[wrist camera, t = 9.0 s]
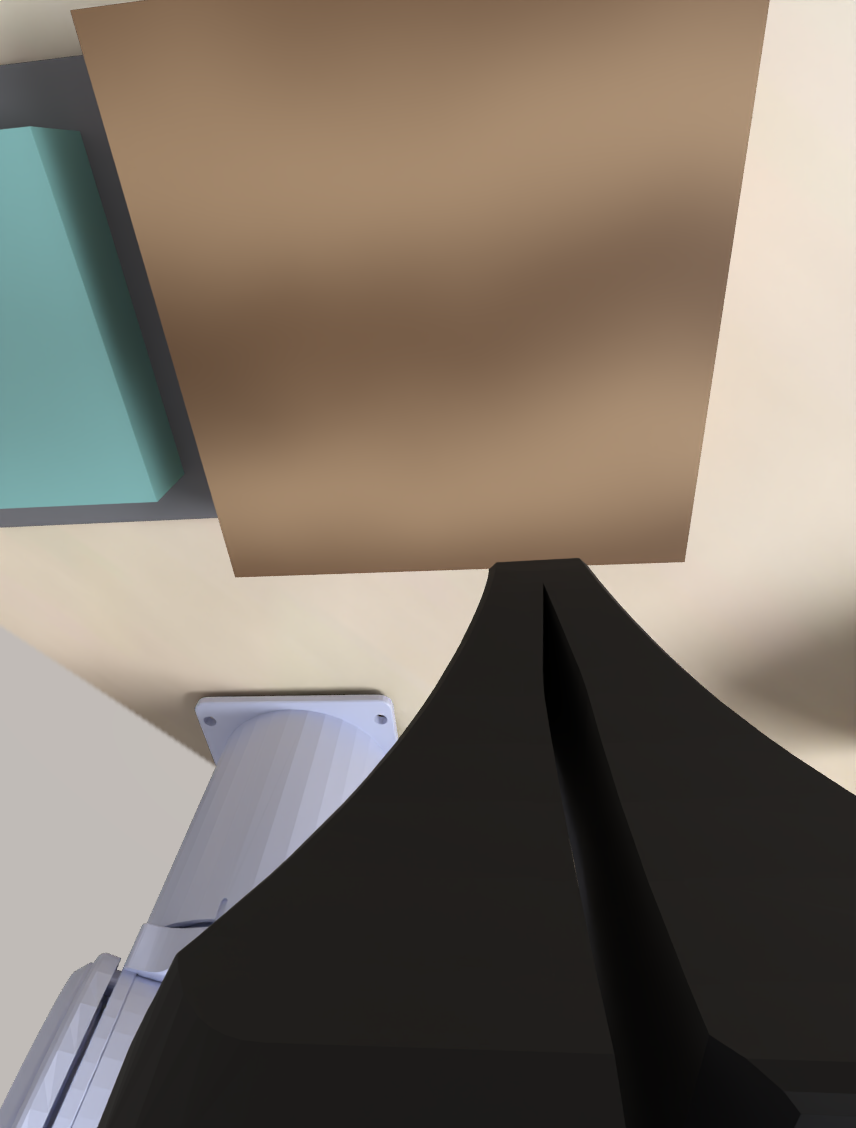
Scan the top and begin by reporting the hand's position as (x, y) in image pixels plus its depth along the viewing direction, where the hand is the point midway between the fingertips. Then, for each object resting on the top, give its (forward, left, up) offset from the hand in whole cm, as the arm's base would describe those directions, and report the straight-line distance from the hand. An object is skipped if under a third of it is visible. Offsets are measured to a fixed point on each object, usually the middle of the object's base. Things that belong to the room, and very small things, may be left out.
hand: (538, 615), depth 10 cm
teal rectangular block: (+3, +13, -8) cm, 16 cm away
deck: (+3, +2, -10) cm, 11 cm away
